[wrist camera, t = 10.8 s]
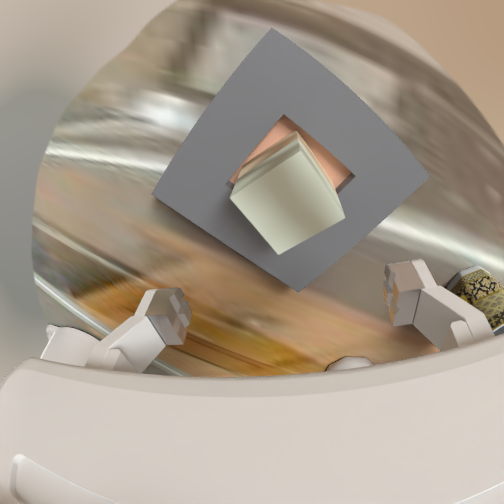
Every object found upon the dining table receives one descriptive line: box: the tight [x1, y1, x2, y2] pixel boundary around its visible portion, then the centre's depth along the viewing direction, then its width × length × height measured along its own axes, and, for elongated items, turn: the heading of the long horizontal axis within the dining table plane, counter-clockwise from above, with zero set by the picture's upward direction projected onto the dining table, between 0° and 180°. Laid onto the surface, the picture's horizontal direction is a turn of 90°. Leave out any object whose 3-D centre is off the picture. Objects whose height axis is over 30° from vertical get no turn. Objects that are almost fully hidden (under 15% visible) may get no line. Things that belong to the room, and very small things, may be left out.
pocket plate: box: [151, 28, 430, 292], centre depth 22 cm, size 16×16×2 cm
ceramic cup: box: [446, 265, 504, 336], centre depth 24 cm, size 13×10×10 cm
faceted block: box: [230, 130, 345, 255], centre depth 20 cm, size 5×5×6 cm
